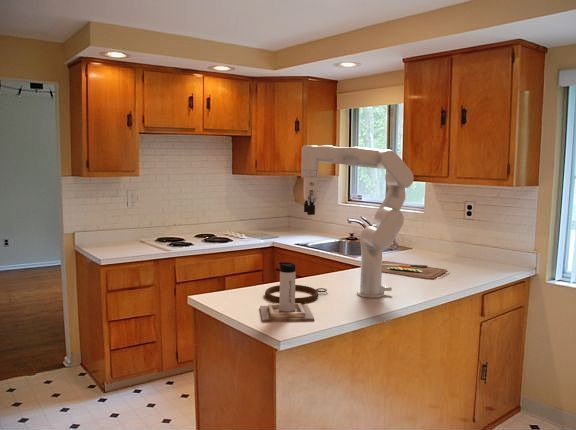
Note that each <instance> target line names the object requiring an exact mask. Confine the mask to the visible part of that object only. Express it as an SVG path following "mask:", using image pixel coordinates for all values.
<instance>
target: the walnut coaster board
mask: <svg viewBox="0 0 576 430" xmlns="http://www.w3.org/2000/svg"><path fill="white" fill-rule="evenodd" d="M279 308H280V307H279V303H268V304H267V305H259V311H260V314H261V315H260V317H261V320H262V323H279V322H280V323H283V322H284V323H286V322H315V317H314V315H313V313H312V311H311V308H310V306H309V305H308V304H301V303H295V312H284V313H280V312H279Z"/></svg>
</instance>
